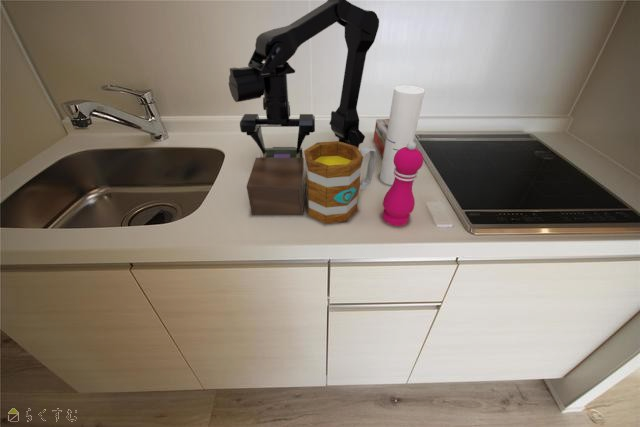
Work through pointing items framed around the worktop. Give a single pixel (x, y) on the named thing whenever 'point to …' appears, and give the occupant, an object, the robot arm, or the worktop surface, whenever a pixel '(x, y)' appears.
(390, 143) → the cylindrical container
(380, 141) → the medicine box
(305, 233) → the worktop surface
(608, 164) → the worktop surface
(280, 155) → the block
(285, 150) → the drawer
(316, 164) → the mug
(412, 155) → the pepper mill
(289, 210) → the cabinet
